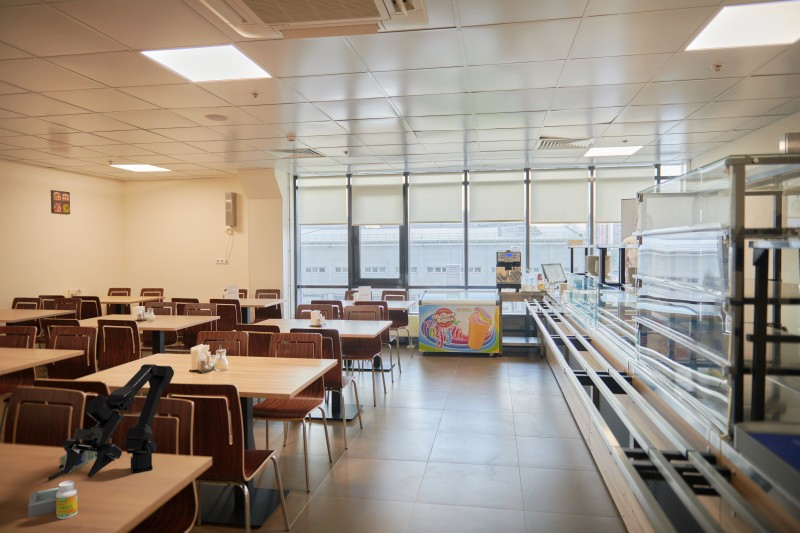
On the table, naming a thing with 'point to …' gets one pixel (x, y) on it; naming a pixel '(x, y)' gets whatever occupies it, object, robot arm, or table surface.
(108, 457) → the robot arm
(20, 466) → the table surface
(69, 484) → the supplement bottle
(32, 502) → the dock
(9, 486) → the table surface
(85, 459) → the handheld radio
